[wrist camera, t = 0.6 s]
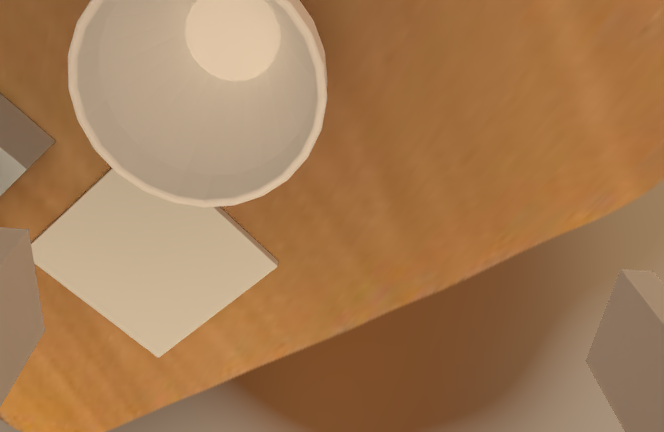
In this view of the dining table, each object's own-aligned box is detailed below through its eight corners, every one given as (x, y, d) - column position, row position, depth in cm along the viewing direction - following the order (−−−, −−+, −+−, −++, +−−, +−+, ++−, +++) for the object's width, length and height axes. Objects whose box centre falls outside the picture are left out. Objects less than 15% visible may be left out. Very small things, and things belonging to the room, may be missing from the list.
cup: (321, 124, 45) (322, 214, 33) (148, 117, 44) (83, 205, 32) (330, -63, 39) (334, -39, 27) (130, -74, 38) (44, -54, 26)
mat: (25, 248, 49) (21, 253, 48) (144, 137, 45) (141, 141, 44) (160, 351, 54) (158, 357, 53) (278, 261, 50) (277, 266, 49)
